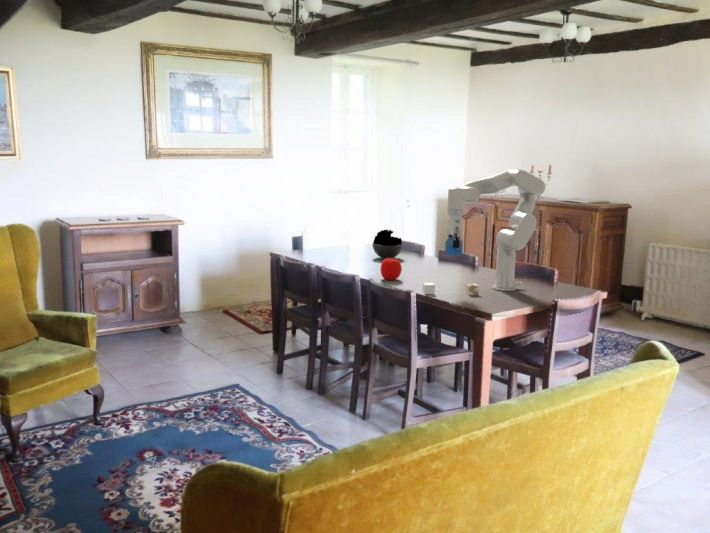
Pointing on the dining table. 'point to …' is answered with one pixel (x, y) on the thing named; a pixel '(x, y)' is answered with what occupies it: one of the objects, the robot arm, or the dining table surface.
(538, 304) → the dining table surface
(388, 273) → the tomato
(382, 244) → the coal bowl
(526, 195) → the robot arm
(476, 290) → the birch block
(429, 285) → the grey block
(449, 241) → the perfume bottle
